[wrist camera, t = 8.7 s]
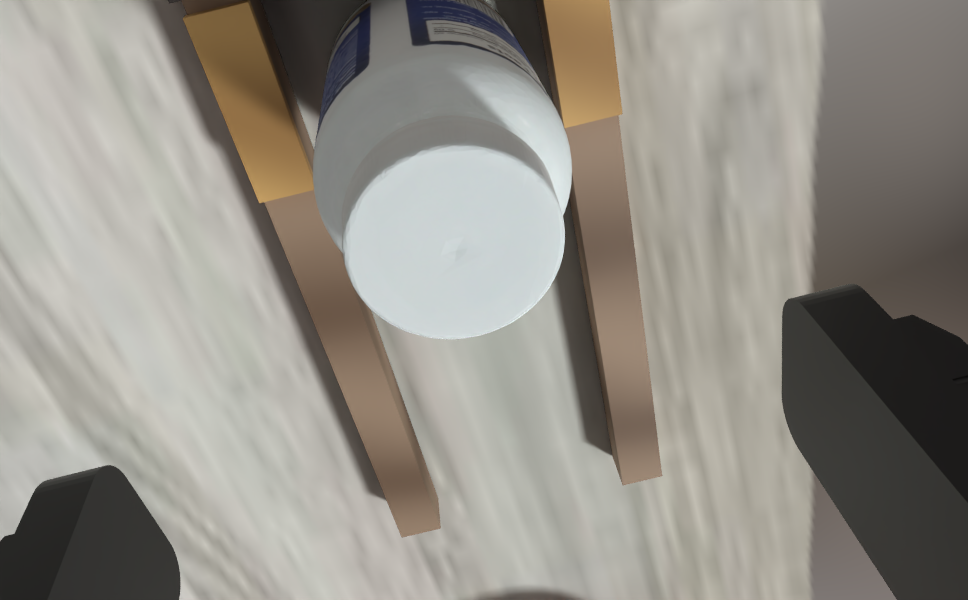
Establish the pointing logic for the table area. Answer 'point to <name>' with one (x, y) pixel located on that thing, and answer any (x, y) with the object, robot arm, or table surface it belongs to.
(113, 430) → the table surface
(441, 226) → the pill bottle
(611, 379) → the guide channel
